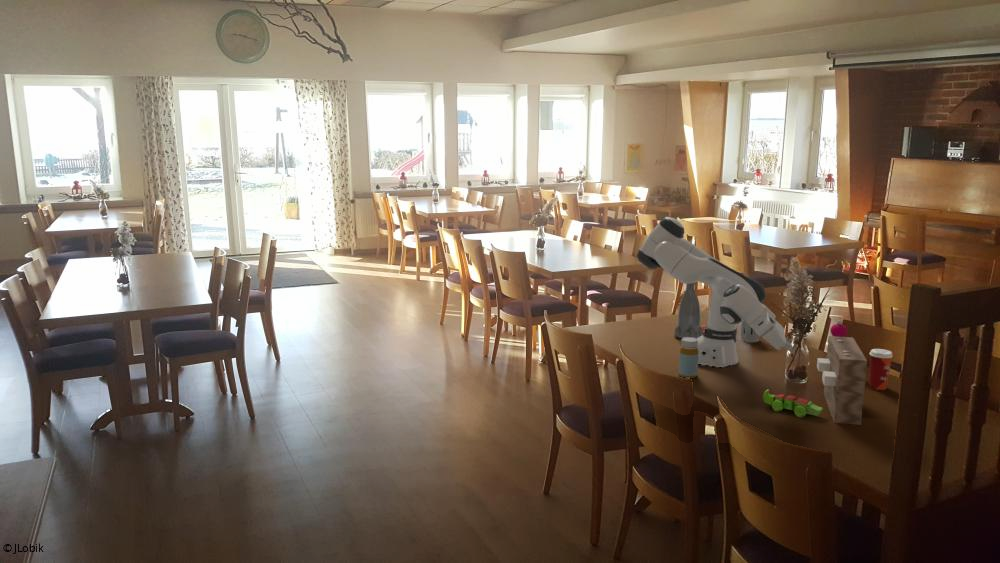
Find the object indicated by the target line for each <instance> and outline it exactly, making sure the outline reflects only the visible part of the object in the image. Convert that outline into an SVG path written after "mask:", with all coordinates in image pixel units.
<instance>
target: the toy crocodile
mask: <svg viewBox="0 0 1000 563" xmlns="http://www.w3.org/2000/svg"><path fill="white" fill-rule="evenodd" d="M769 391H770V390H769V389H768V388H767V389H766V390H765V391H764V392H763V395H762V400H763V402H764V403H765V404H766V405H767V404H768V405H770V406H771V407H772V409H773V411H775V412H781V411H783V410H785V409H786V410H790V411H793V413H794V415H795V416H796V417H798V418H804V417H806V415H811V416H815V417H816V416H817V417H818V416H819V415H820V414H821V413H822V412H823V411H824V408H823V407H822V406H818V405H816V404H814V403H813V401H812V400H810V401H809V400H808V399H805V398H801V397H799V398H798V397H797V396H795V395H791V394H790V395H787V394H786V393H785V394H784V393H783V394H780V393H779V394H777V395H775V394H770V392H769Z"/></svg>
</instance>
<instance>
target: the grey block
mask: <svg viewBox="0 0 1000 563" xmlns="http://www.w3.org/2000/svg"><path fill="white" fill-rule="evenodd" d="M816 368H817V371H818V372H820V373H821V372H822V373H823V371H829V372H830V360H829V359H826V358H824V357H823V358H822V357H821V358H820V357H817V361H816Z"/></svg>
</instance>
